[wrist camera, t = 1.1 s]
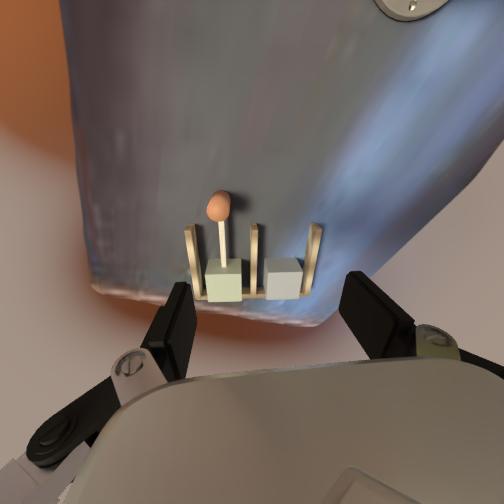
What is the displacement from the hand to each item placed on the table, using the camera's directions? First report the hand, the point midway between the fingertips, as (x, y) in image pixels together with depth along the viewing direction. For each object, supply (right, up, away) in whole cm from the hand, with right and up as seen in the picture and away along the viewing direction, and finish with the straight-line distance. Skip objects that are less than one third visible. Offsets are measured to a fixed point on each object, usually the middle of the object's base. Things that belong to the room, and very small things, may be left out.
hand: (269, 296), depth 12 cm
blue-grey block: (+4, -1, +27) cm, 28 cm away
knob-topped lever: (-6, +4, +23) cm, 25 cm away
